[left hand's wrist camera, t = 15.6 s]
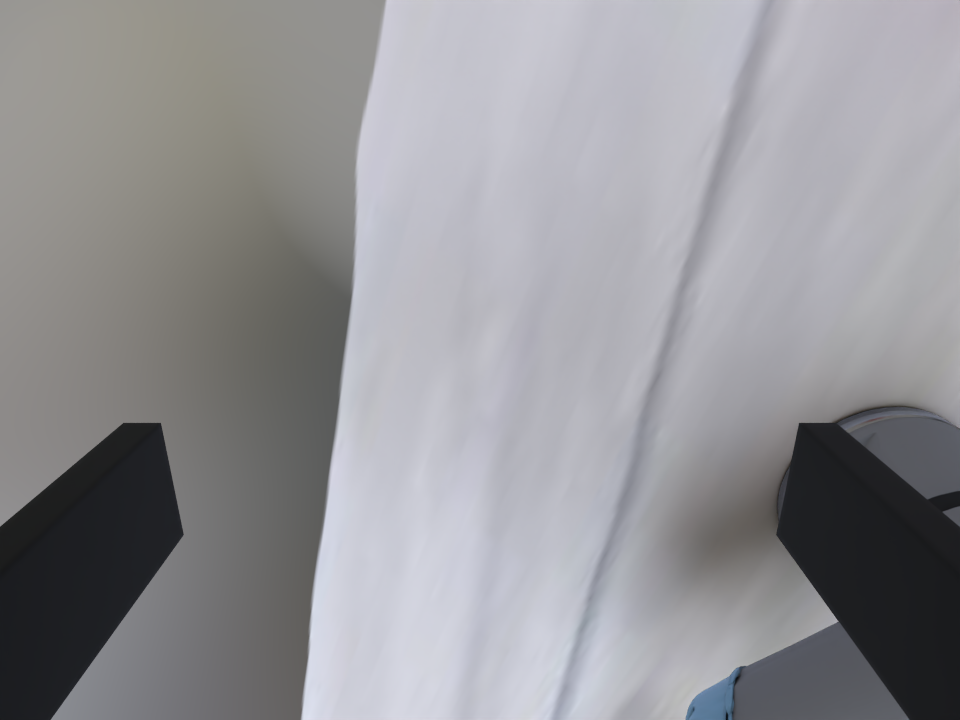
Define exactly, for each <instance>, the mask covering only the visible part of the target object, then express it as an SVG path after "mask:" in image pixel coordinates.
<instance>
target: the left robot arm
mask: <svg viewBox="0 0 960 720" xmlns="http://www.w3.org/2000/svg"><path fill="white" fill-rule="evenodd" d="M777 506H778V519H779V524H778V529H777V534H776V535H777V536H778V538H779V539H780V541H781V542H782V543H783V545H784V546H785V548H786V549H787V550H788V552H789V553H790V554H791V556H792V557H793V559H794V560H795V561H796V563H797V564H798V566H799V567H800V568H801V570H802V571H803V573H804V574H805V575H806V577H807V578H808V579H809V581H810V582H811V584H812V585H813V586H814V588H815V589H816V591H817V592H818V593H819V595H820V596H821V598H822V599H823V600H824V602H825V603H826V604H827V606H828V607H829V609H830V610H831V611H832V613H833V614H834V616H835V617H836V618H837V620H838V621H839V622H837V623H835V624H833V625H831V626H829V627H827V628H825V629H823V630H821V631H819V632H817V633H815V634H813V635H811V636H809V637H807V638H805V639H803V640H801V641H799V642H797V643H795V644H793V645H791V646H789V647H787V648H785V649H783V650H781V651H778V652H776V653H774V654H772V655H770V656H768V657H766V658H764V659H762V660H759V661H757V662H755V663H753V664H751V665H749V666H741V667H739V668H736V669H735V670H734V671H733V672H732V674H731V675H730V676H729V677H727V678H725V679H724V680H722V681H720V682H719V683H717V684H715V685H713V686H712V687H710V688H708V689H706V690H704V691H703V692H701V693H700V694H698V695H697V696H696V697H695V698H694V699H693V701H692V702H691V704H690V706H689V708H688V712H687V715H686V720H960V429H959V428H958V427H956V426H955V425H953V424H952V423H950V422H948V421H947V420H945V419H943V418H942V417H940V416H938V415H936V414H933V413H931V412H928V411H924V410H920V409H916V408H908V407H887V408H879V409H873V410H869V411H865V412H862V413H859V414H856V415H853V416H850V417H848V418H846V419H843V420H841V421H839V422H837V423H799V426H798V431H797V436H796V441H795V446H794V451H793V456H792V461H791V465H790V467H789V469H788V470H787V472H786V474H785V477H784V479H783V481H782V484H781V487H780V491H779V496H778V505H777ZM183 535H184V534H183V529H182V525H181V520H180V515H179V510H178V505H177V500H176V495H175V490H174V485H173V481H172V475H171V471H170V466H169V461H168V456H167V451H166V446H165V441H164V436H163V431H162V426H161V423H123V424H122V425H121V426H119V427H118V428H117V429H116V430H115V431H113V432H112V433H111V434H110V435H109V436H108V437H106V438H105V439H104V440H103V441H102V442H100V443H99V444H98V445H97V446H96V447H94V448H93V449H92V450H91V451H90V452H88V453H87V454H86V455H85V456H84V457H83V458H81V459H80V460H79V461H78V462H77V463H75V464H74V465H73V466H72V467H71V468H69V469H68V470H67V471H66V472H65V473H64V474H62V475H61V476H60V477H59V478H58V479H56V480H55V481H54V482H53V483H52V484H50V485H49V486H48V487H47V488H46V489H45V490H43V491H42V492H41V493H40V494H39V495H37V496H36V497H35V498H34V499H33V500H31V501H30V502H29V503H28V504H27V505H26V506H24V507H23V508H22V509H21V510H20V511H18V512H17V513H16V514H15V515H14V516H12V517H11V518H10V519H9V520H8V521H6V522H5V523H4V524H3V525H2V526H1V527H0V720H51V718H52V717H53V715H54V714H55V713H56V711H57V710H58V709H59V707H60V706H61V704H62V703H63V702H64V700H65V699H66V698H67V696H68V695H69V693H70V692H71V691H72V689H73V688H74V686H75V685H76V684H77V682H78V681H79V679H80V678H81V677H82V675H83V674H84V673H85V671H86V670H87V668H88V667H89V666H90V664H91V663H92V661H93V660H94V659H95V657H96V656H97V654H98V653H99V652H100V650H101V649H102V648H103V646H104V645H105V643H106V642H107V641H108V639H109V638H110V636H111V635H112V634H113V632H114V631H115V629H116V628H117V627H118V625H119V624H120V623H121V621H122V620H123V618H124V617H125V615H126V614H127V613H128V611H129V610H130V609H131V607H132V606H133V604H134V603H135V602H136V600H137V599H138V597H139V596H140V595H141V593H142V592H143V591H144V589H145V588H146V586H147V585H148V584H149V582H150V581H151V579H152V578H153V577H154V575H155V574H156V573H157V571H158V570H159V568H160V567H161V566H162V564H163V563H164V561H165V560H166V559H167V557H168V556H169V554H170V553H171V552H172V550H173V549H174V548H175V546H176V545H177V543H178V542H179V541H180V539H181V538H182V536H183Z"/></svg>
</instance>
